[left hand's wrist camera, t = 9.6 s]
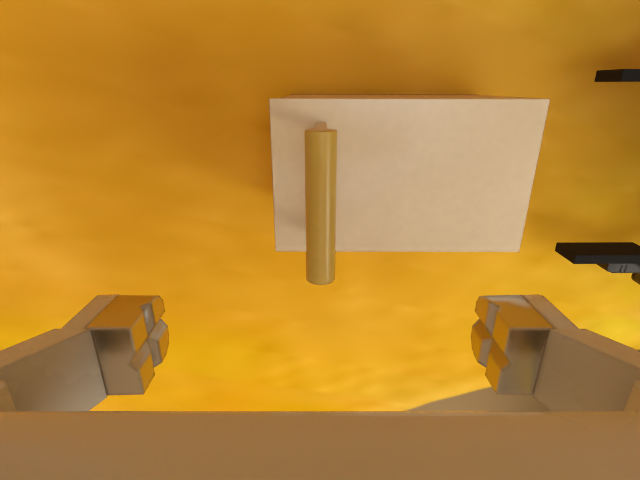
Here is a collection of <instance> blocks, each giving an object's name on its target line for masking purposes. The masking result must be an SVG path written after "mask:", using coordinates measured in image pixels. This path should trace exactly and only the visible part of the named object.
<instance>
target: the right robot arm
mask: <svg viewBox="0 0 640 480" xmlns="http://www.w3.org/2000/svg"><path fill="white" fill-rule="evenodd" d="M594 82H640V69H618V70H601V71H597V72H596V77H595V81H594ZM555 251H556V252H558V253H559V254H560V255H562V256H563V257H565V258H566V259H568V260H569V261H570V262H572V263H573V264H597V265H599V266H600V267H602V268H603V269H605V270H607V271H609V272H611V273H633V274H632V280H634V281H635V282H637V283H638V284H640V246H639V245H637V244H635V243H633V242H608V243H557V244H556V249H555Z"/></svg>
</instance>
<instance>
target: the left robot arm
mask: <svg viewBox="0 0 640 480" xmlns="http://www.w3.org/2000/svg"><path fill="white" fill-rule="evenodd" d="M164 312H165V308H164V303H163V299H162V298H161V297H160V296H151V295H98V296H96V297H95V298H94V299H93V300H92V301H91V302H90V303H89V304H87V305H86V306H85V307H84V308H83V309H82V310H81V311H80V312H79V313H78V314H77V315H75V316H74V317H73V318H72V319H71V320H70V321H69V322H68V323H67V324H66V325H65V326H64V327H62V328H61V329H53V330H51V331H48V332H46V333H43V334H41V335H38V336H36V337H33V338H31V339H29V340H26V341H24V342H21V343H19V344H16V345H14V346H11V347H9V348H7V349H4V350H2V351H0V480H640V351H638V350H636V349H633V348H631V347H628V346H626V345H624V344H621V343H619V342H616V341H614V340H611V339H609V338H606V337H604V336H602V335H599V334H597V333H594V332H592V331H589V330H587V329H579V328H578V327H576V326H575V325H574V324H573V323H572V322H571V321H570V320H569V319H568V318H567V317H566V316H565V315H563V314H562V313H561V312H560V311H559V310H558V309H557V308H556V307H555V306H554V305H553V304H552V303H550V302H549V301H548V300H547V299H546V298H545V297H544V296H542V295H538V294H537V295H497V296H480V297H479V298H478V300H477V302H476V308H475V312H476V314H477V315H478V317H479V318H480V319H479V320H478V321H477V322H476V323H475V324H474V325H473V326H472V333H471V343H472V350H473V353H474V356H475V358H476V360H477V361H478V363H480V364H481V365H483V366H485V367H486V373H485V375H486V377H487V379H488V381H489V382H490V384H491V386H492V387H493V389H494V391H495V392H496V394H504V395H533V397H534V398H535V399H536V400H538V401H539V402H540V403H542V404H543V405H544V406H546V407H547V408H548V409H550V410H551V411H89V410H90V409H92V408H93V407H94V406H96V405H97V404H98V403H100V402H101V401H102V400H104V399H105V398H106V397H107V395H136V394H144V393H145V391H146V389H147V387H148V386H149V384H150V382H151V381H152V379H153V377H154V375H155V373H154V367H155V366H157V365H159V364H160V363H162V361H163V360H164V358H165V356H166V353H167V349H168V345H169V332H168V326H167V325H166V324H165V323H164V322H163V321H162V320H161V319H160V318H161V317H162V315H163V314H164Z"/></svg>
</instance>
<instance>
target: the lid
mask: <svg viewBox="0 0 640 480" xmlns="http://www.w3.org/2000/svg"><path fill="white" fill-rule="evenodd" d="M549 102H550V99H543V98H270V99H269V109H270V132H271V155H272V178H273V201H274V225H275V248H276V251H306V279H307V281H308V282H310V283H312V284H316V285H326V284H329V283H332V282H333V281H334V279H335V251H362V252H519V250H520V245H521V240H522V235H523V230H524V225H525V220H526V215H527V210H528V205H529V200H530V196H531V191H532V186H533V181H534V176H535V171H536V166H537V161H538V156H539V151H540V146H541V141H542V136H543V132H544V127H545V122H546V117H547V112H548V107H549Z"/></svg>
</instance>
